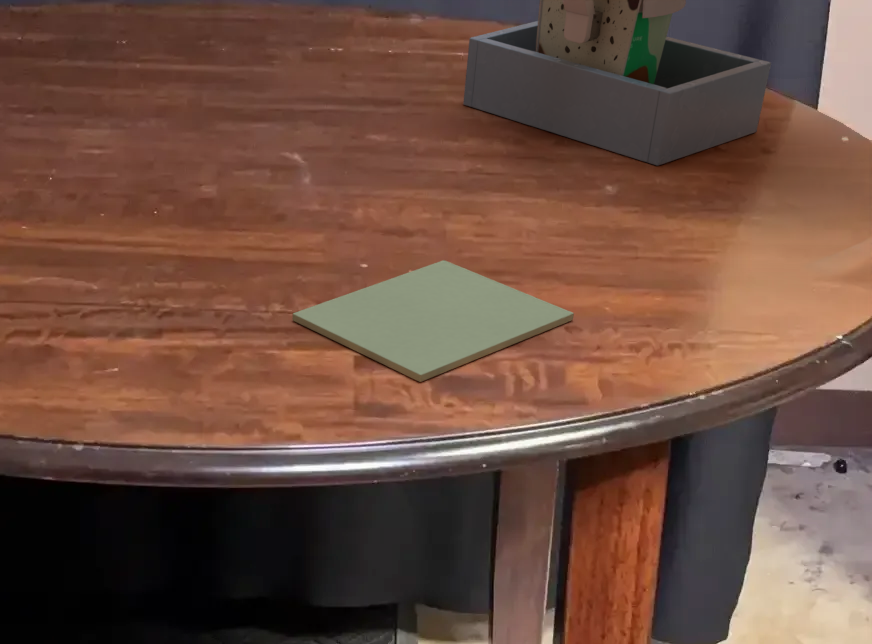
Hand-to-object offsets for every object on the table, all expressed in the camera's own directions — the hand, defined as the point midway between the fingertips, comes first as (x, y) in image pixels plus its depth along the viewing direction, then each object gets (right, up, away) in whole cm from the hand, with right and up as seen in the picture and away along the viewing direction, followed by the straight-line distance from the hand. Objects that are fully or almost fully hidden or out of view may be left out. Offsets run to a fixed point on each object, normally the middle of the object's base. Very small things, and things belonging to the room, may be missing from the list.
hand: (616, 30), depth 99 cm
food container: (0, -5, +4) cm, 6 cm away
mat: (-16, -24, -23) cm, 37 cm away
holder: (0, -5, +3) cm, 6 cm away
